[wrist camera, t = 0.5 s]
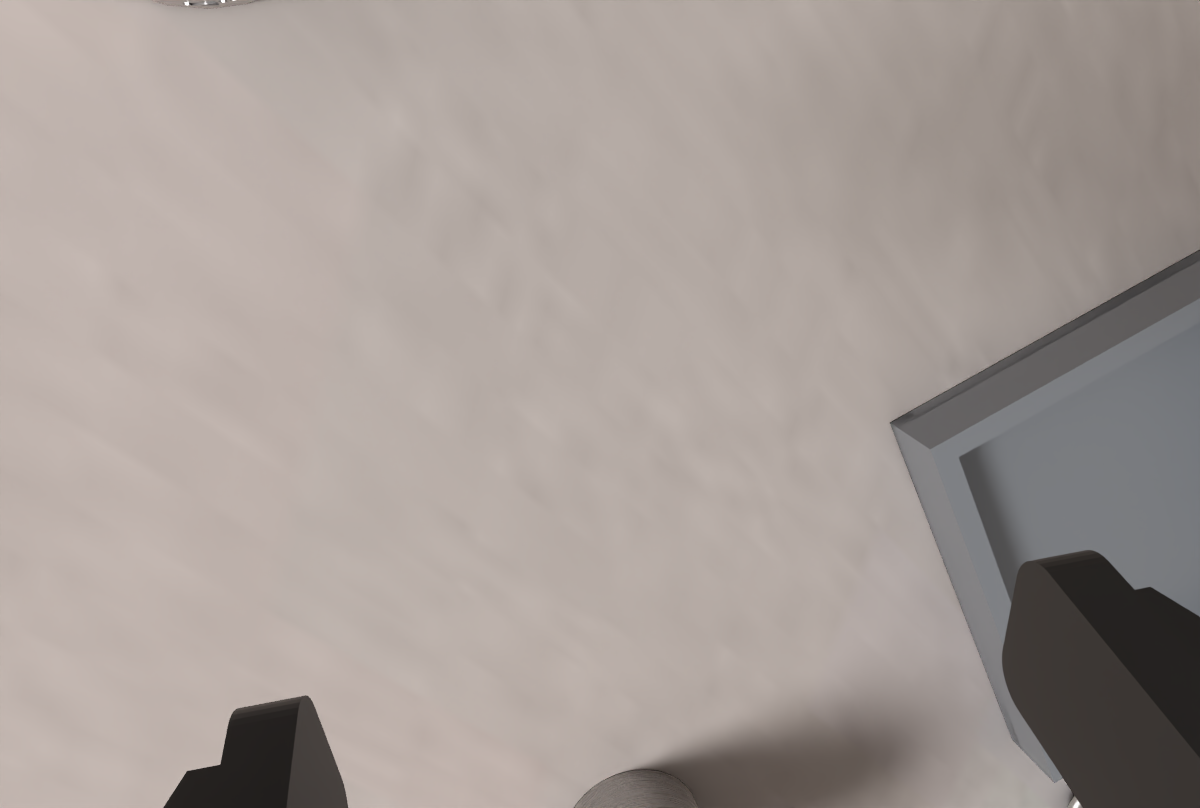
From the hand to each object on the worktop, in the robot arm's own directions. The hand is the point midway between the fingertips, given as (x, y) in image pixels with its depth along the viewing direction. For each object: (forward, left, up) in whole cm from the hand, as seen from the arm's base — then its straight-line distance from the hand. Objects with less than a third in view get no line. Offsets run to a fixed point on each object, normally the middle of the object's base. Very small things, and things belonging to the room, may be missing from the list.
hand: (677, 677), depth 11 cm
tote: (+19, +17, -20) cm, 32 cm away
